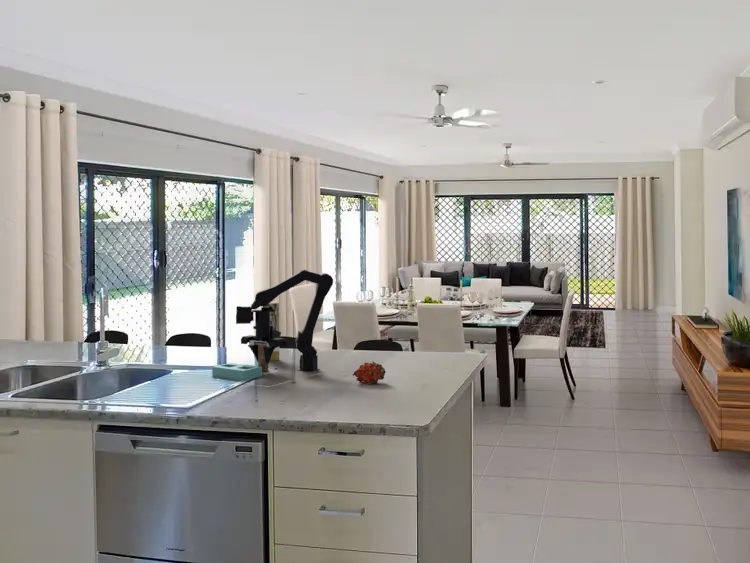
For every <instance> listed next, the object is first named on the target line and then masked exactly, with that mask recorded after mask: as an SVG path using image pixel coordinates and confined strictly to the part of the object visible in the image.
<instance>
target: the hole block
mask: <svg viewBox="0 0 750 563" xmlns="http://www.w3.org/2000/svg"><path fill="white" fill-rule="evenodd" d="M211 368H212V369H211V370H212V371H211V372H212V374H211V375H212V377H216V378H224V379H231V380H237V381H247V380H252V379H255V378H259V377H262V376H263V375H262V367H260V366H258V365H251V364H241V363H233V362H227V363H224V364H219V365H215V366H212V367H211Z"/></svg>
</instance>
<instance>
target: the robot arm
mask: <svg viewBox="0 0 750 563" xmlns="http://www.w3.org/2000/svg"><path fill="white" fill-rule="evenodd" d="M304 281H306V282H307V281H308V282H310V283H313V284H316V285H315V286H316V287H315V294H314V298H313V301H312V303H311V306H310V310H309V312H308V316H307V318H306V321H305V325H304V327H303V329H302V330H301V331H300V330H298V331H297V336H296V338H295V340H294V341H295V345H296V349H297V351H299V353H301V355H299V369H297V371H300V372H307V373H308V372H309V373H312V372H315V371H320V370H321V369H320V368H318V367H319V366H318V365H319V363H318V362H319V358H318V355H317V353H318V351H317V349H316V348H315V347H314V346H313V339H314V330H315V328H316V324H317V322H318V319H319V315H320V313H321V309H322V307H323V303H324V301H325V298H326V297H327V295H328V294H329V292H330V290H331V289H332V286H333V284H334V279H333V277H332V276H331V275H330V274H328V273H325V272H324V273H323V272H322V273H316V272H312V271H308V270H306V269H302V270H299V272H297V273H296V274H294V275H292V276H290V277H289V278H287V279H285V280H283V281H281V282H280V283H278V284H275V285H274V286H270V287H268V288H264V289H261V290H259V291H258V292H256V294H255V297H254V301H253V302H252V303H251V304H250V305H249V306H241V305H237V306H236V314H235V324H236V325H239V324H241V325H243V324H245V325H247V324H251V323H252V322H255V323H254V324H255V325H253V327H252V329H253V330H255V335H253V334H252V335H251V334H249V335H244V336H241V338H240V345H241V344H242V345H247V344H248V345H247V347H249V349H250V350H251V352H252V353H253V356H254V357H255V360H256V362H257V363H258V345H263V344H267V346H266V347H263V349H264V355H265V360H266V364H269V365H270V362H271V361H270V359H271V356H272V353H273V351H274V349H275V348H276V347H279V348H280V347H284V346H287V341H286V339H285V338H284V337H283V338H282V337H281V334H282V332H281V331H280V330H279V331H276V330H273V326H272V325H270V312H275V309H273V308H272V306H271V305H270V306H269V307H263V306H266V305H268V304H269V303H270V302H271V301H275V299H276V298H277V297H278V296H280V295H281V294H283V293H285V292H287V291H288V290H291V289H292V288H294V287H296V286H298V285H299V284H300V283H301V284H302V283H303V282H304ZM259 308H260V309H259ZM254 313H255V314H254ZM254 315H255V318H254ZM254 319H255V320H254Z"/></svg>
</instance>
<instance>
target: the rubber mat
mask: <svg viewBox="0 0 750 563" xmlns="http://www.w3.org/2000/svg"><path fill="white" fill-rule="evenodd" d="M278 372H282V370H280V369H272V368H269V371H267V372H262V376H265V375H269V374H274V373H278Z"/></svg>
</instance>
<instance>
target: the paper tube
mask: <svg viewBox="0 0 750 563" xmlns="http://www.w3.org/2000/svg"><path fill="white" fill-rule="evenodd" d="M270 305H271V306H272V308H273V309H275V312H270V325H272V326H273V330H276V331H279V332H280V303H279V301H275V300H273V301H271V302H270V303H269V304H268V305H266V306H263V307H269V306H270ZM262 344H263V343H262ZM263 345H267V344H263ZM279 360H280V347H276V348H275V349H274V351H273V353H272V356H271V359H270V361H269V362H275V361H279Z"/></svg>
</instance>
